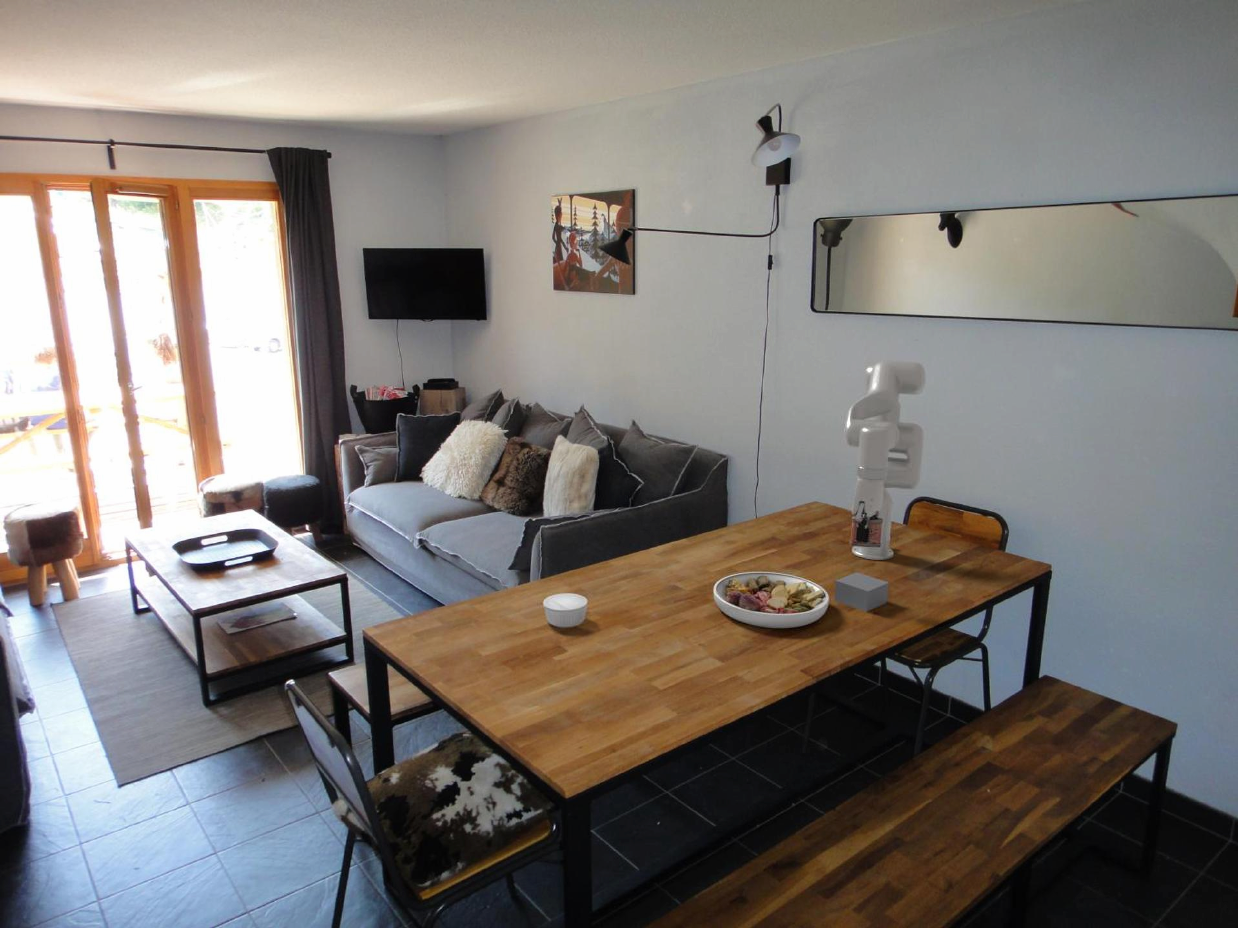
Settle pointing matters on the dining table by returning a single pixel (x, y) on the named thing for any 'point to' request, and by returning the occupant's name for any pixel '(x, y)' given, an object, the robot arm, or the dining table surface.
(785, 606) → the bowl
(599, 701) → the dining table surface
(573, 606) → the ramekin
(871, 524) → the lighter
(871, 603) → the gray block
